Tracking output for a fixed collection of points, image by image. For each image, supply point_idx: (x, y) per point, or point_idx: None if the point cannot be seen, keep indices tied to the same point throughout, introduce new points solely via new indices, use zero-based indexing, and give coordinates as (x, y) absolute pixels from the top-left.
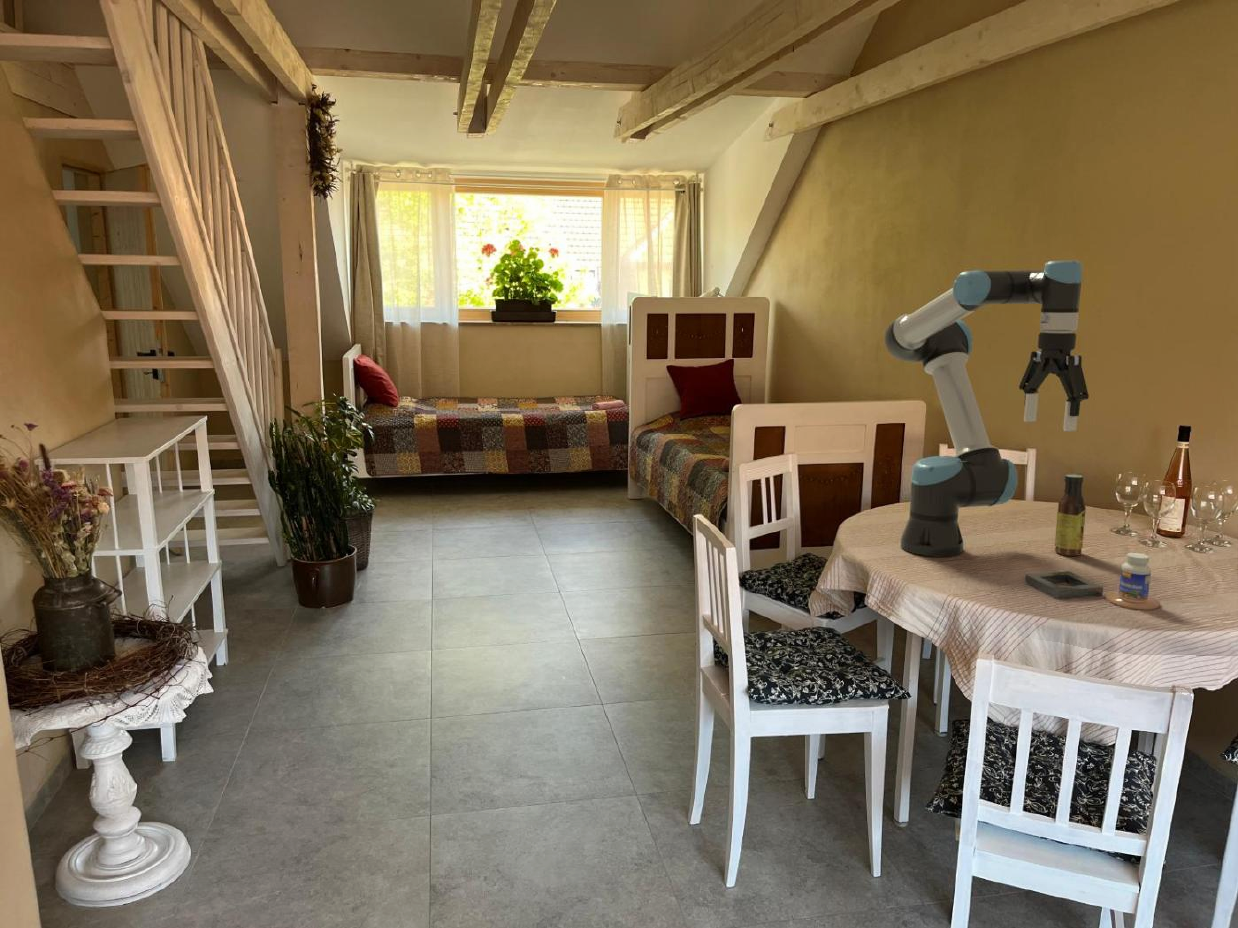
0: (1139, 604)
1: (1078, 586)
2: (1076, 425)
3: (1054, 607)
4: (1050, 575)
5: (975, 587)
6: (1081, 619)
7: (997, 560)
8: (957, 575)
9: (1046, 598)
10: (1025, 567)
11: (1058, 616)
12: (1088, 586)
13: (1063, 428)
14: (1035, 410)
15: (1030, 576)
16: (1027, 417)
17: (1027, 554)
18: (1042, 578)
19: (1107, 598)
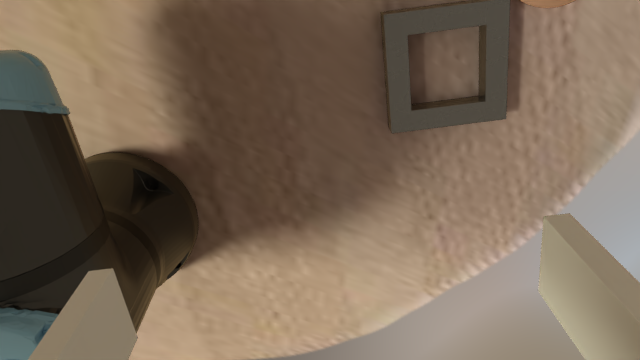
0: None
1: (492, 58)
2: (589, 235)
3: (536, 142)
4: (407, 80)
5: (398, 234)
6: (606, 126)
7: (221, 108)
8: (322, 237)
9: (486, 131)
10: (280, 67)
11: (579, 160)
12: (498, 33)
13: (546, 300)
14: (81, 339)
15: (406, 130)
16: (122, 351)
17: (168, 3)
18: (423, 110)
19: (535, 6)
